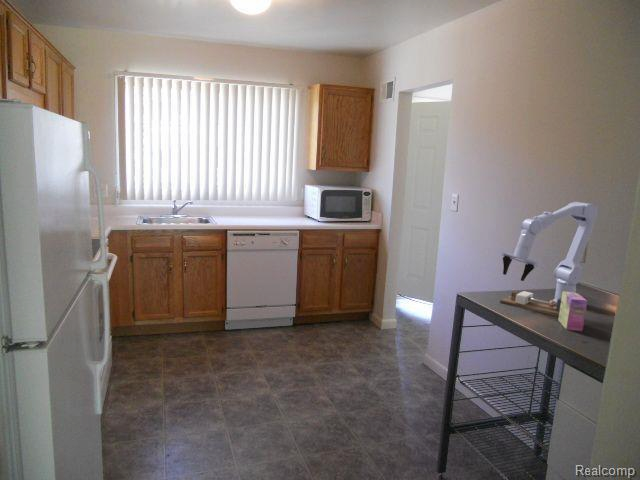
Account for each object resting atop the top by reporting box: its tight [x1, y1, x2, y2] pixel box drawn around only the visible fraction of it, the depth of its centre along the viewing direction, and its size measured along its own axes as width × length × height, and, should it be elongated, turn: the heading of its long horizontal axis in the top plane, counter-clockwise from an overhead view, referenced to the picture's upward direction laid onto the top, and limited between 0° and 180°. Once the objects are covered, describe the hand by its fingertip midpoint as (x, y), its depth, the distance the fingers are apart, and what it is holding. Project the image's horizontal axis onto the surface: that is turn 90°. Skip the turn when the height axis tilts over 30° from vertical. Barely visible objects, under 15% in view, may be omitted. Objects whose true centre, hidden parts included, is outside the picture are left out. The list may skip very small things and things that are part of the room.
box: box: [557, 291, 588, 332], centre depth 177 cm, size 10×6×12 cm, turn 168°
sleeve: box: [515, 290, 534, 305], centre depth 202 cm, size 9×4×3 cm, turn 138°
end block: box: [556, 297, 562, 312], centre depth 192 cm, size 4×3×5 cm
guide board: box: [499, 290, 559, 318], centre depth 199 cm, size 11×26×4 cm, turn 48°
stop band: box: [548, 299, 555, 308], centre depth 195 cm, size 3×1×3 cm, turn 138°
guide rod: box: [528, 297, 557, 307], centre depth 198 cm, size 1×19×1 cm, turn 48°
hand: (513, 277), depth 200 cm, fingers open, 7 cm apart
